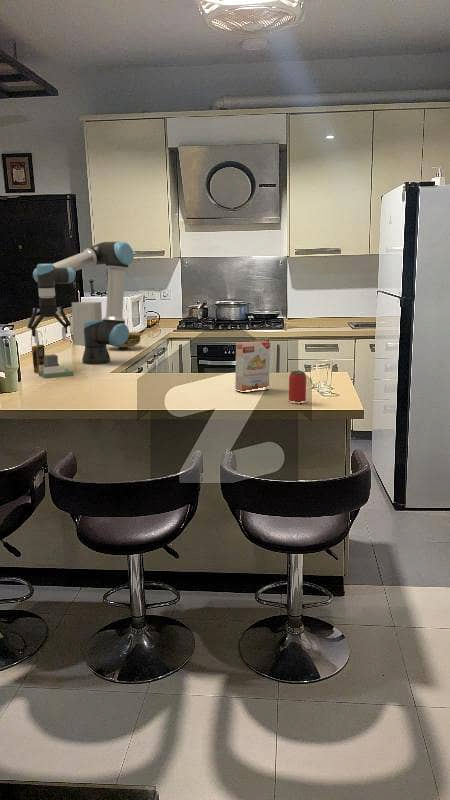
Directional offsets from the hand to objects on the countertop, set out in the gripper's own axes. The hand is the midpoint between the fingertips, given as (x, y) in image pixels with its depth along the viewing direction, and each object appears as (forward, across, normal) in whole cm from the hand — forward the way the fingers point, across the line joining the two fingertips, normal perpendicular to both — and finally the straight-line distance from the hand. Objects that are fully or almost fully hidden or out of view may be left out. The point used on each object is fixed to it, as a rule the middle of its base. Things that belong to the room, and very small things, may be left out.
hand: (50, 342), depth 295 cm
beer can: (+17, -59, +112) cm, 128 cm away
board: (+16, -1, 0) cm, 16 cm away
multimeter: (+17, -1, -14) cm, 22 cm away
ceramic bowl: (+18, -68, -68) cm, 98 cm away
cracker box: (+17, -58, +84) cm, 103 cm away
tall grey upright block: (+18, -59, -100) cm, 118 cm away
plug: (+14, +1, 0) cm, 14 cm away
